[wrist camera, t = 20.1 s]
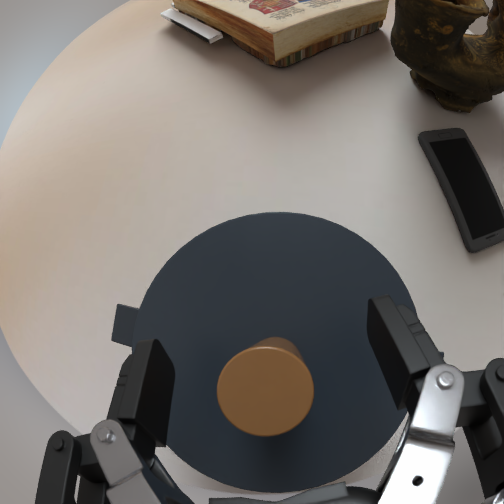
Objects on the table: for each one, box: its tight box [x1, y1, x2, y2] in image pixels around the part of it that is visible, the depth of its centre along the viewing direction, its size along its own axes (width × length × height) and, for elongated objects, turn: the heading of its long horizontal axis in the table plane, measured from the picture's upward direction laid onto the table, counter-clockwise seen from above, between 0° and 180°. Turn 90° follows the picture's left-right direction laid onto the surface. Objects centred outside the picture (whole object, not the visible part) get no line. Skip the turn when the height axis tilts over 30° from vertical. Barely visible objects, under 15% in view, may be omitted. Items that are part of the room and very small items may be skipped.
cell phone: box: [418, 128, 504, 253], centre depth 24 cm, size 7×14×1 cm, turn 14°
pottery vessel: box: [390, 0, 504, 113], centre depth 19 cm, size 25×11×20 cm, turn 101°
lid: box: [132, 212, 417, 493], centre depth 11 cm, size 16×16×8 cm
